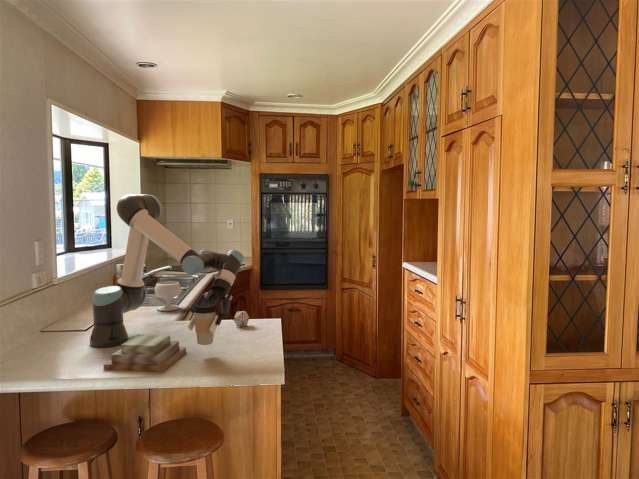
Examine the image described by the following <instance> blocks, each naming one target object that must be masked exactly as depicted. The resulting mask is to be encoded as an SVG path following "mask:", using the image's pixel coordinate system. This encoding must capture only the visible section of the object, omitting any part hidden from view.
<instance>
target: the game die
mask: <svg viewBox="0 0 639 479" xmlns="http://www.w3.org/2000/svg"><path fill="white" fill-rule="evenodd" d="M251 318H252V316H249V314H248V313H247V309H245V310H241V311H240V310H239V311H237V310H235V314H234V316H233V319H231V320H232V321H234V324H235V325H236V328H238V327H247V328H248V327H249V326H248V322H249V320H250V319H251Z"/></svg>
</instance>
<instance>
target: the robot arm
mask: <svg viewBox="0 0 639 479" xmlns="http://www.w3.org/2000/svg"><path fill="white" fill-rule="evenodd" d="M116 212H117V215H118V217H119V219H120V220H121V221H123V223H125V224H126V226H129V232H128V236H127V242H126V243H127V244H126V249H125V255H124V260H123V267H122V273H121V277H120V278H119V279H117V280H116V285H109V286H105V287H104V286H103V287H101V288H98V289H96V290H95V291H94V292H93V293H92V300H91V304H92V315H93V316H92V317H93V327H92V331H91V335H90V337H89V345H90V346H91V347H93V348H111V347H116V346H120V345H122V344H123V343H125V342H127V341H128V340H129V334H128V331H127V328H126V326H125V323H124V314H125V313H127V312H131V311H135V310H137V309H139V308H141V307H142V306H143V305H144V304H145V303H146V301H147V297H148V292H147V290H146V287H145V282H144V281H143V273H144V268H145V263H146V257H147V251H148V245H149V240H150V241H152V243H154V244H155V245H156V246H158V247H159V248H160V249H161V250H163V251H164V252H165V253H167V255H169V256H170V257H172V258H173V259H174V260H175V261H177V262H178V263H179V264H180V265H181V268H182V271H183V272H184V273H185V274H186V275H189V276H190V275H191V276H193V275H198V274H201V273H203V272H207V271H210V270H212V271H213V270H214V271H217V274H216V276H215V279H214V280H213V282H212V285H211V286H210V290H209V291H205V290H202V291H201V293H200V296H199V297H198V298H197V300H196V301H194V303H193V305H192V306H191V307H190V308H189V311H190V313H192V314H191V316H190V318H189V322H188V325H187V326H186V327H187V328H188V329H189V331H193V329H194V328H195V321H194V312H193V308H194V307H195V305H197V304H202V303H211V304H217V314H216V315H215V316H216V317H215V319H214V321H213V323H212V325H211V327H210V329H209V330H210V331H211V333H212V334H214V335H215V332H216V329H217V327H218V326H220V325H221V323H222V320H223V319H224V318H225V319H228V318H229V314H230V310H231V303H232V301H233V299H234V297H233V295H232V294H231V293H230V290H231V289H232V286H233V284H234V282H235V280H236V278H237V276H238V274H239V271H240V269H241V268H242V265H243V262H244V259H245V258H244V254H242V252H240V251H239V250H236V249H230V250H228V252H227V253H220V252H215V251H211V250H204V249H200V250H199V251H198V252H197V251H195V250H194V249H193V248H192V247H190V246H189V245H188V244H186V243H185V242H184V241H183V240H181V239H180V238H179V237H178V236H177V235H175V234H174V233H172V232H171V231H170V230H168V228H166V227H165V226H164V225H162V224H161V223H160V222H158V221H157V220H158V219H159V218H160V217H161V216H162V214H163V205H162V203H161V201H160V199H159V198H158V197H157V196H154V195H152V194H147V193H143V194H142V193H140V194H133V193H129V194H126V195H123V196H122V197H121V198H119V200H118V201H117V204H116ZM224 300H225V301H224Z"/></svg>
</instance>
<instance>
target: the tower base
mask: <svg viewBox="0 0 639 479" xmlns="http://www.w3.org/2000/svg"><path fill="white" fill-rule="evenodd" d="M186 353H187V347H186V346H180V341H179V340H178V341H177V340H171V335H169V334H168V335H166V334H164V335H163V334H137V335H136V336H134V337H132V338H130V339H128V341H127V342H125V343H123V344H121V346H120V349H118V350H116V351H115V352H114V353H112V354H111V359H110V360H107V362H105V363H104V364H103V370H104V369H105V370H104V371H122V370H123V371H126V372H149V373H154V372H155V373H163V372H164V371H165V370H166V369H167V368H169V367H170V366H172V364H174V363H175V362H176V361H177V360H178V359H179V358H181V357H182V356H184V355H185V354H186Z"/></svg>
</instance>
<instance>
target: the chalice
mask: <svg viewBox="0 0 639 479" xmlns="http://www.w3.org/2000/svg"><path fill="white" fill-rule="evenodd" d="M181 291H182V288H181V285H180V282H179V281H177V280H164V281H159V282H157V283H155V287H154V294H155V295H156V296H157V297H159V298H160V299H163V300H164V301H165V302H166V303H165V304H166V305H162V306H159V307H158V308H156V310H157V311H160V312H161V311H162V312H171V311H176V310H179V309H180V306H178V305H171V302H172V300H173V299H174V298H176V297H177V296H179V295H180V294H181Z"/></svg>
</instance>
